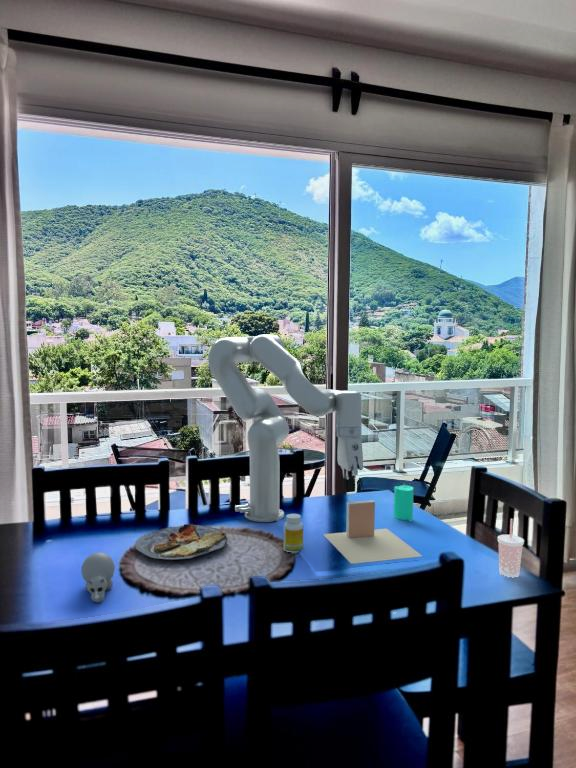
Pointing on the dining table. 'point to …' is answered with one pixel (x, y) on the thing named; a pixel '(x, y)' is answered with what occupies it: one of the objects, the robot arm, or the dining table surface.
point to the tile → (360, 518)
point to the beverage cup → (510, 554)
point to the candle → (403, 502)
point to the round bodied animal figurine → (98, 574)
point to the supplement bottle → (293, 534)
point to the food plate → (181, 541)
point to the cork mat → (372, 547)
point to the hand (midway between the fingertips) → (349, 491)
